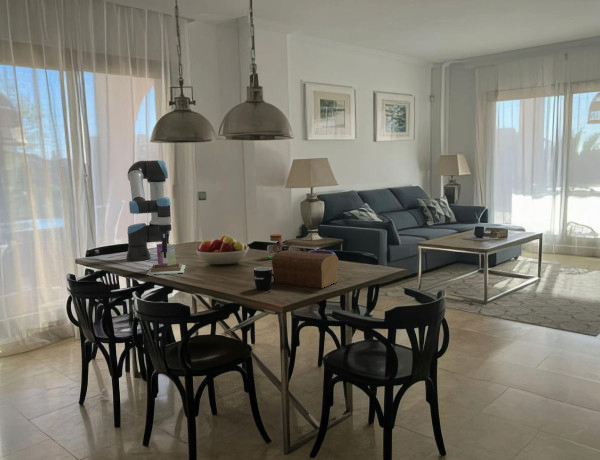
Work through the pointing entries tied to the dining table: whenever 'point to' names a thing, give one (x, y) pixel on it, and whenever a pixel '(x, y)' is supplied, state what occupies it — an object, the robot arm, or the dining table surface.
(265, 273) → the mug
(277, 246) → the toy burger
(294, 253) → the wooden bread box
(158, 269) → the white shallow tray
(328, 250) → the bowl
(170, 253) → the box
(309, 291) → the dining table surface
